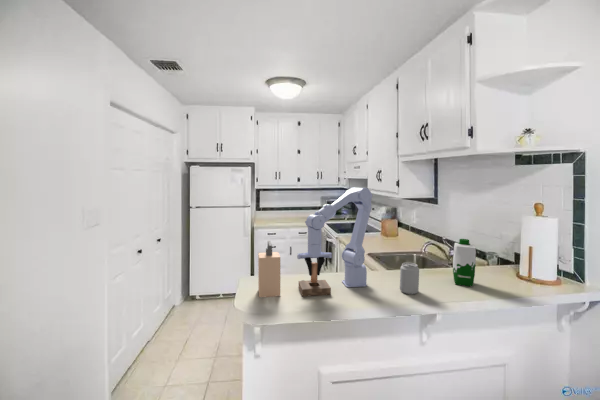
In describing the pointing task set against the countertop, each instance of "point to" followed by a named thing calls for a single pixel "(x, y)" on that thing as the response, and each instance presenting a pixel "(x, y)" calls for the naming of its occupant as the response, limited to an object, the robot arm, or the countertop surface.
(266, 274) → the soap dispenser
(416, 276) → the can
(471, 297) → the countertop surface
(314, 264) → the pin
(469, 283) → the milk carton
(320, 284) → the block
